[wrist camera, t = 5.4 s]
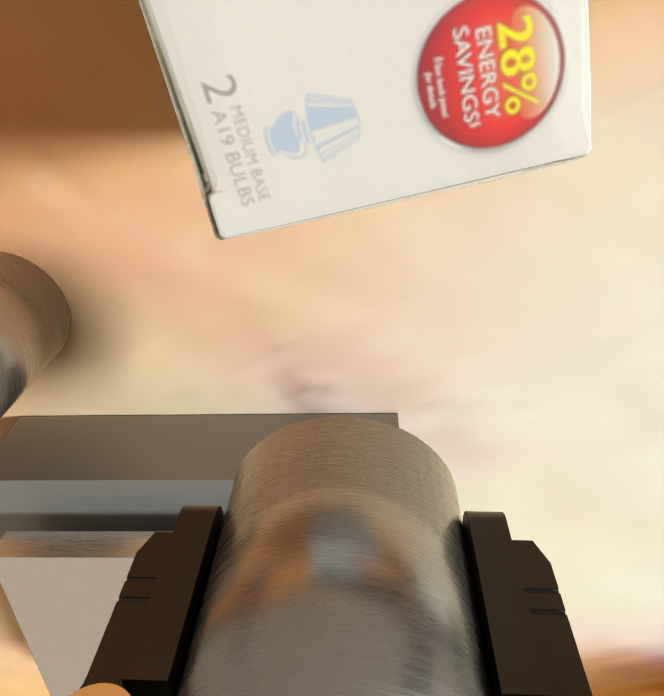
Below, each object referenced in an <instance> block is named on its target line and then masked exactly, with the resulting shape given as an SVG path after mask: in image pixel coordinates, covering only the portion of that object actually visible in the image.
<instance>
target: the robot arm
mask: <svg viewBox="0 0 664 696" xmlns="http://www.w3.org/2000/svg"><path fill="white" fill-rule="evenodd" d="M223 520H224V514H223V509H222V507H221V506H200V505H184V506H183V507H182V508H181V510H180V513H179V516H178V518H177V521H176V524H175V527H174V530H173V532H155V533H154V534H153V535H152V536H151V537H150V538H149V539H148V540H147V541H146V543H145V544H144V545H143V546H142V547H141V548H140V549H139V550H138V551H137V553H136V555H135V558H134V560H133V562H132V565H131V567H130V570H129V572H128V575H127V581H125V582H124V585H123V587H122V590H121V592H120V595H119V601H117V602H116V605H115V607H114V610H113V612H112V615H111V617H110V620H109V622H108V625H107V627H106V629H105V632H104V634H103V637H102V639H101V642H100V644H99V647H98V649H97V652H96V654H95V657H94V659H93V662H92V664H91V667H90V669H89V672H88V674H87V676H86V678H85V680H84V683H83V684H82V686H81V687H80V689H79V690H77V691H75V692H74V693H73V694H71V695H70V696H177V692H178V688H179V684H180V681H181V677H182V673H183V670H184V666H185V662H186V658H187V655H188V651H189V647H190V643H191V640H192V636H193V632H194V628H195V625H196V621H197V617H198V613H199V610H200V606H201V602H202V598H203V595H204V591H205V587H206V583H207V580H208V576H209V572H210V569H211V565H212V561H213V557H214V554H215V550H216V546H217V542H218V539H219V535H220V531H221V527H222V524H223ZM462 527H463V533H464V538H465V544H466V550H467V556H468V561H469V567H470V573H471V578H472V584H473V590H474V595H475V601H476V607H477V613H478V618H479V624H480V630H481V635H482V641H483V647H484V653H485V658H486V664H487V670H488V675H489V681H490V687H491V692H492V696H592V693H591V690H590V687H589V683H588V680H587V677H586V674H585V671H584V668H583V664H582V661H581V658H580V655H579V652H578V649H577V645H576V642H575V639H574V636H573V633H572V630H571V626H570V623H569V620H568V617H567V615H566V614H565V607H564V604H563V601H562V598H561V595H560V594H559V591H558V589H559V588H558V585H557V582H556V579H555V576H554V573H553V569H552V566H551V563H550V562H549V561H548V559H547V558H546V557H545V556H544V554H543V553H542V552H541V551H540V549H539V548H538V547H537V546H536V545H535V543H534V542H533V541H523V540H511V536H510V532H509V528H508V524H507V520H506V517H505V515H504V513H503V512H474V511H465V512H464V515H463V522H462Z"/></svg>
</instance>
